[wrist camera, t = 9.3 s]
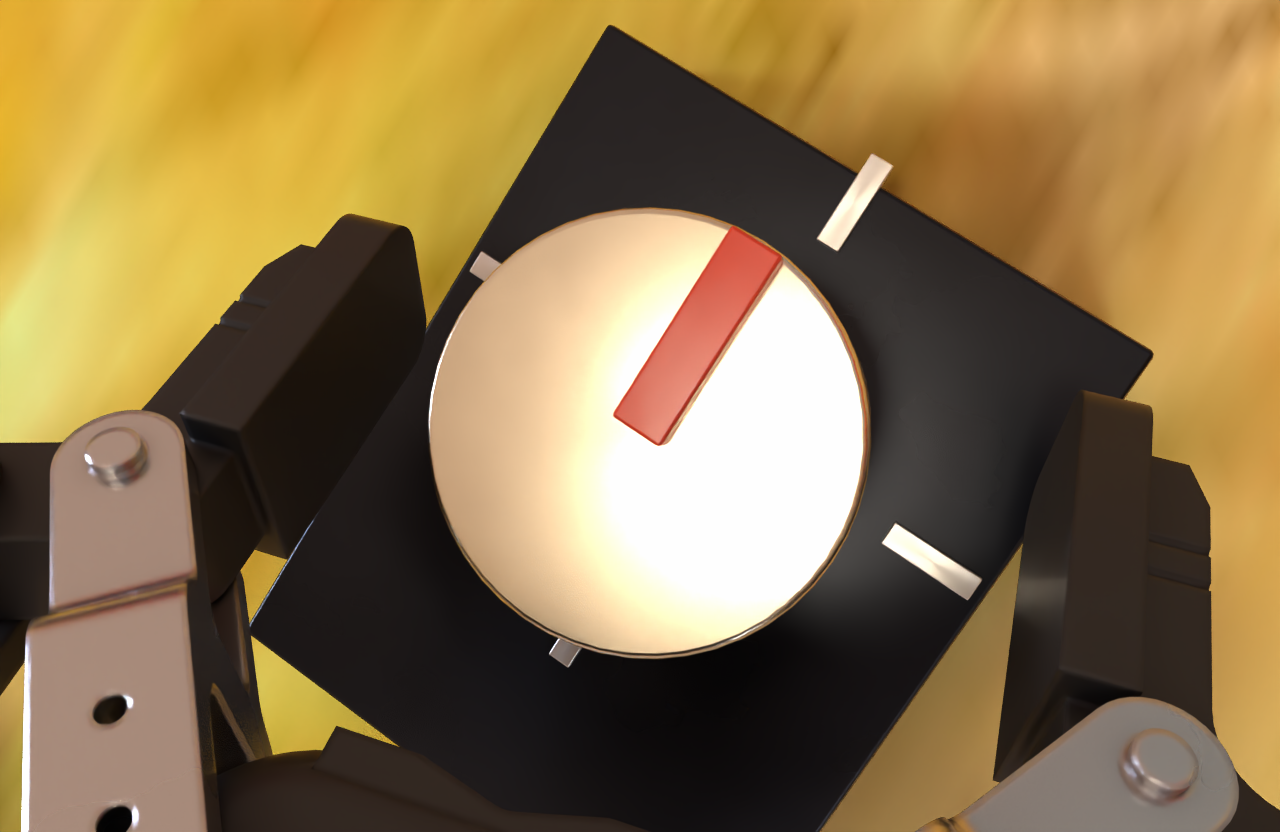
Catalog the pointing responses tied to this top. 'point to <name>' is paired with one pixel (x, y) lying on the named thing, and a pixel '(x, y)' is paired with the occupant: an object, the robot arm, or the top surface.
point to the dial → (649, 433)
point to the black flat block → (827, 614)
